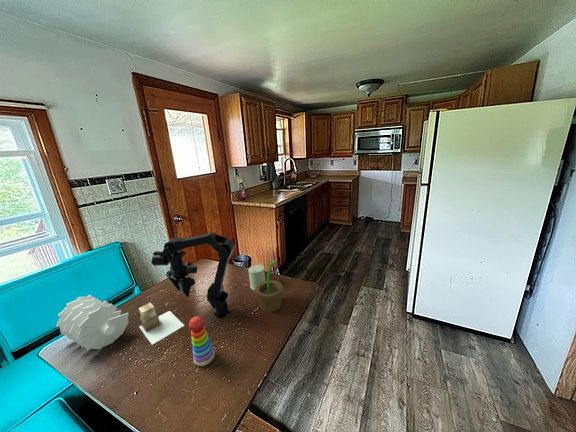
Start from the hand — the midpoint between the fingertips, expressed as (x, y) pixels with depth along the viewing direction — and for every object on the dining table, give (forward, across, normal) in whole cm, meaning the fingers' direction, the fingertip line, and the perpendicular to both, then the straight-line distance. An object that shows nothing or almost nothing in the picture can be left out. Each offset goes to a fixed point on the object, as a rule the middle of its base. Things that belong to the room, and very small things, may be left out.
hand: (183, 293), depth 112 cm
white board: (+12, +2, +12) cm, 17 cm away
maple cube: (+7, +6, +15) cm, 17 cm away
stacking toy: (+12, -31, +8) cm, 34 cm away
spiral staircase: (+12, +18, +33) cm, 40 cm away
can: (+12, -10, -38) cm, 41 cm away
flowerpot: (+12, -29, -30) cm, 44 cm away
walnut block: (+12, +6, +15) cm, 20 cm away
